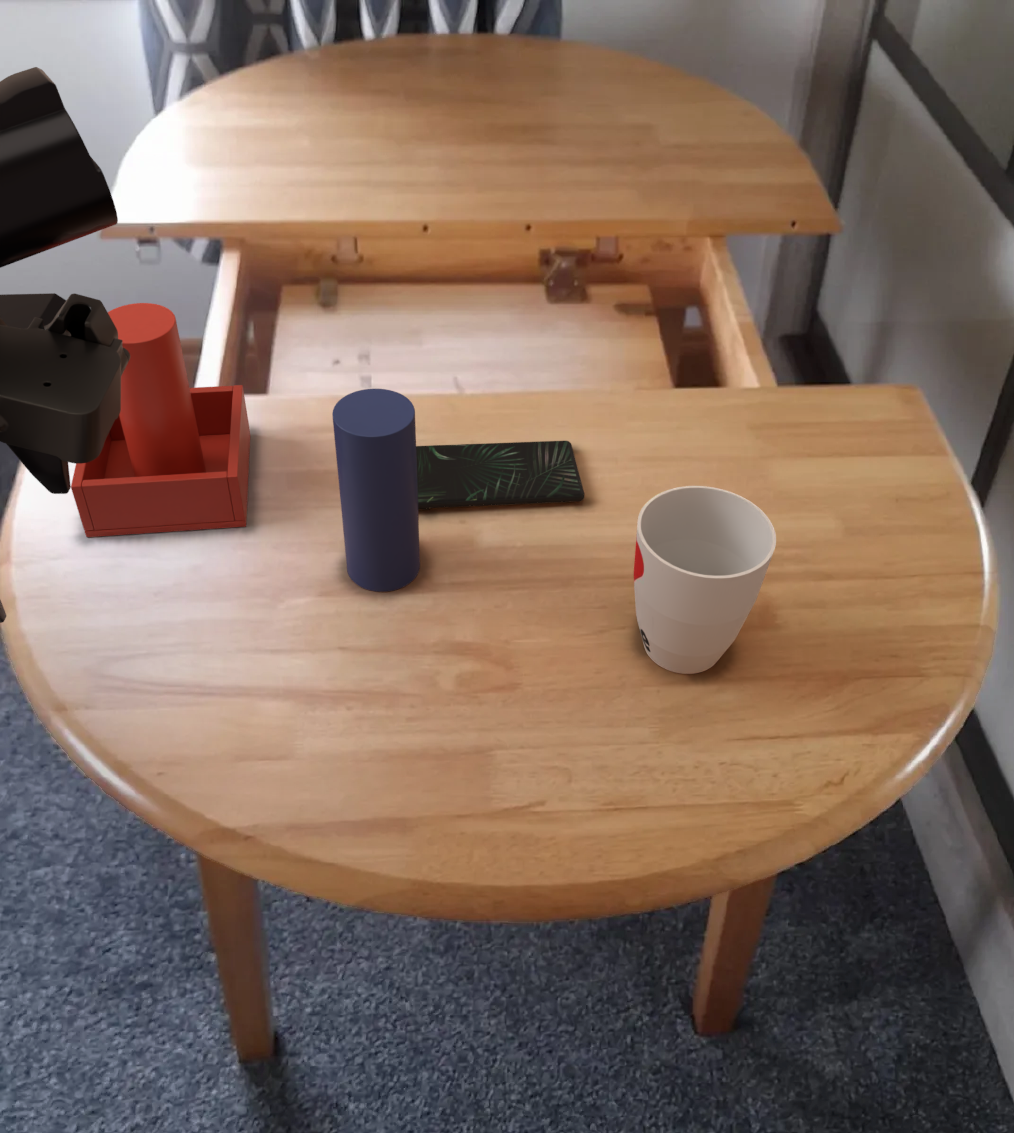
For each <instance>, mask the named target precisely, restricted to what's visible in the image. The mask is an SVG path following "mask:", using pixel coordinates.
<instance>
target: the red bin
mask: <svg viewBox="0 0 1014 1133" xmlns="http://www.w3.org/2000/svg"><path fill="white" fill-rule="evenodd" d="M189 388H190V393H191V398H192V403H193V408H194V413H195V418H196V423H197V428H198V433H199V438H200V443H201V448H202V453H203V458H204V463H205V468H206V473H191V474H174V475H158V476H142V477H135V475H134V471H133V467H132V463H131V459H130V455H129V452H128V448H127V444H126V440H125V436H124V432H123V428H122V424H121V420H120V416H118V418H117V419H115V421H114V423H113V425H112V427H111V429H110V431H109V433H108V435H107V438H106V440H105V442H104V446H103V449H102V451H101V453H100V454H99V456H98V457H97V458H96V459H94V460H93V461H90V462H87V463H75V467H74V470H73V476H72V480H71V483H70V486H71V487H70V490H71V492H72V496H73V499H74V502H75V506H76V509H77V512H78V516H79V518H80V521H81V524H82V527H83V530H84V534H85V537H86V538H96V537H110V536H111V537H112V536H125V535H126V536H127V535H141V534H156V533H170V532H172V533H173V532H185V531H186V532H187V531H200V530H213V529H215V530H217V529H228V528H244V527H245V528H246V527H247V519H248V518H247V516H248V515H247V514H248V495H249V494H248V493H249V474H250V473H249V472H250V450H251V430H250V423H249V417H248V410H247V403H246V398H245V391H244V386H243V385H242V384H236V385H217V386H199V387H189Z"/></svg>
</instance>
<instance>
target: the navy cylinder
mask: <svg viewBox="0 0 1014 1133" xmlns="http://www.w3.org/2000/svg"><path fill="white" fill-rule="evenodd" d="M332 426H333V437H334V447H335V456H336V468H337V469H336V470H337V477H338V489H339V499H340V500H339V501H340V512H341V520H342V531H343V541H344V550H345V551H344V552H345V562H346V571H347V575H348V577H349V578H350V580H351V581H352V582H353V583H354V584H355V585H357V586H358V587H360V588H362V589H364V590H366V591H371V592H377V593H384V592H392V591H393V592H394V591H397V590H400V589H403V588H405V587H406V586H408V585H409V584H411V583H412V582H413V581H414V580H415V579H416V578H417V576H418V574H419V572H420V569H421V555H420V554H421V553H420V551H421V550H420V522H419V521H420V520H419V519H420V518H419V510H418V487H417V457H416V446H417V430H416V427H417V426H416V409H415V406H414V404H413V402H412V401H411V399H409V398H408V397H407V396H405V395H404V394H402V393H400V392H398V391H395V390H391V389H385V388H365V389H360V390H356V391H353V392H350V393H348V394H346V395H345V396H342V397H341V398H340V399H339V400H338V401H337V402H336V403H335V405H334V407H333V409H332Z"/></svg>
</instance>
